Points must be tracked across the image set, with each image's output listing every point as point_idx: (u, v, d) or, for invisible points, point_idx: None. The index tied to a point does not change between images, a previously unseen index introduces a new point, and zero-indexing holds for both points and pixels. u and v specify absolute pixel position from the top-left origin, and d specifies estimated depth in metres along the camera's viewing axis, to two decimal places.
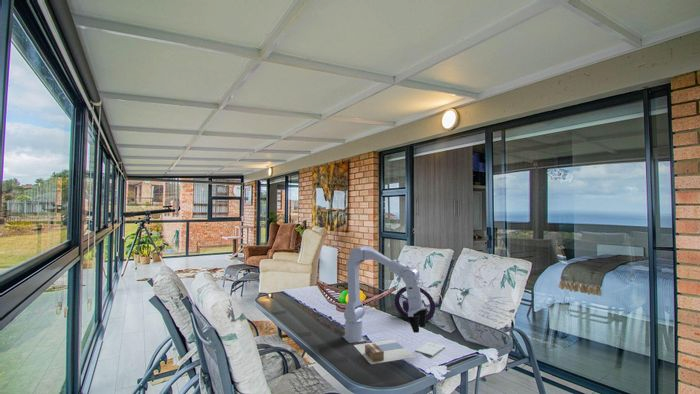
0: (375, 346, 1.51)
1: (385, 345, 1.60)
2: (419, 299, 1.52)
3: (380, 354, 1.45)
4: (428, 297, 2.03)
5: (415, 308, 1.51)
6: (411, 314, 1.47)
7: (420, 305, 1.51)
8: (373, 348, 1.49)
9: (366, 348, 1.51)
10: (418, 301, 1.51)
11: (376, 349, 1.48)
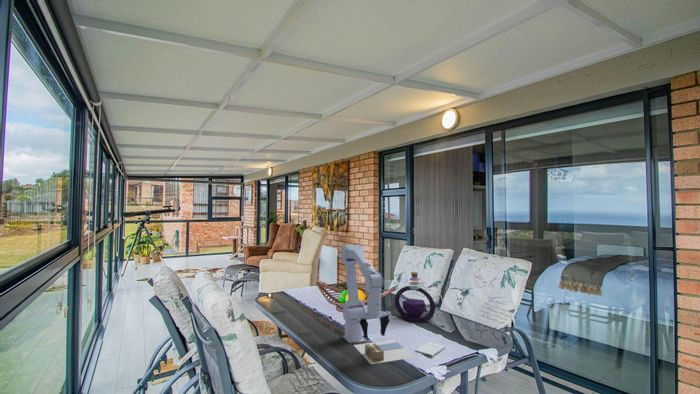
0: (375, 346, 1.51)
1: (385, 345, 1.60)
2: (374, 307, 1.47)
3: (380, 354, 1.45)
4: (428, 297, 2.03)
5: (368, 314, 1.48)
6: (358, 318, 1.46)
7: (374, 313, 1.47)
8: (373, 348, 1.49)
9: (366, 348, 1.51)
10: (372, 308, 1.47)
11: (376, 349, 1.48)
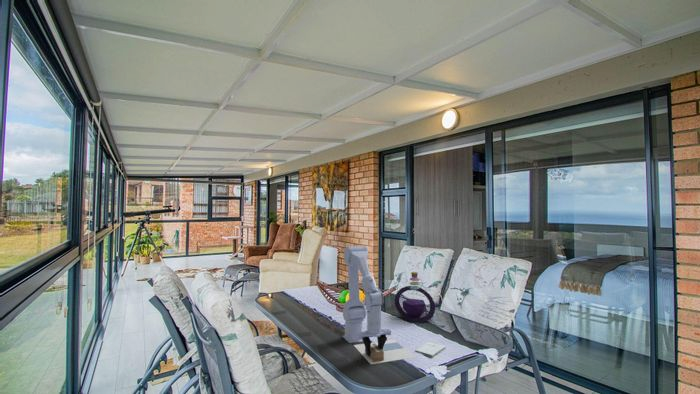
0: (375, 346, 1.51)
1: (385, 345, 1.60)
2: (374, 325, 1.47)
3: (380, 354, 1.45)
4: (428, 297, 2.03)
5: (368, 332, 1.48)
6: (358, 337, 1.46)
7: (374, 331, 1.46)
8: (373, 348, 1.49)
9: None
10: (372, 326, 1.47)
11: (376, 349, 1.48)
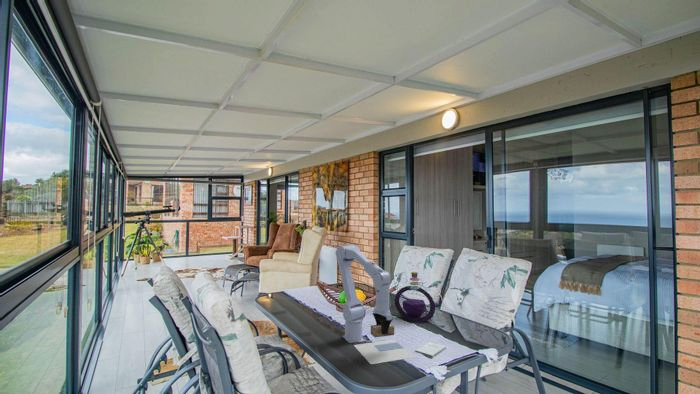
0: None
1: (385, 345, 1.60)
2: None
3: (373, 329, 1.52)
4: (428, 297, 2.03)
5: None
6: None
7: (375, 307, 1.55)
8: None
9: None
10: None
11: (379, 327, 1.53)
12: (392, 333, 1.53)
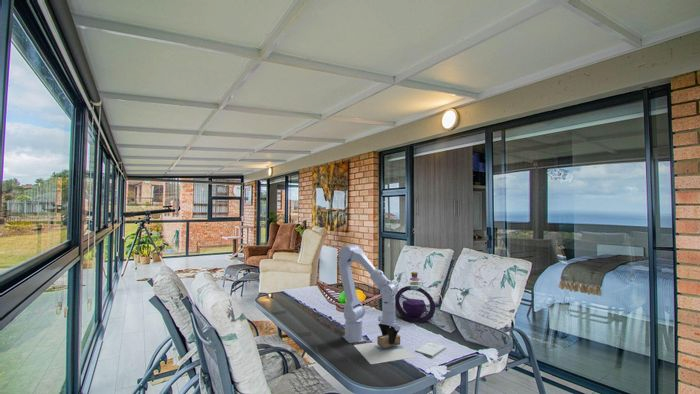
0: None
1: None
2: (382, 313, 1.59)
3: (381, 340, 1.56)
4: (428, 297, 2.03)
5: None
6: None
7: (382, 318, 1.59)
8: (387, 335, 1.59)
9: None
10: (382, 313, 1.60)
11: (386, 337, 1.58)
12: (398, 342, 1.59)
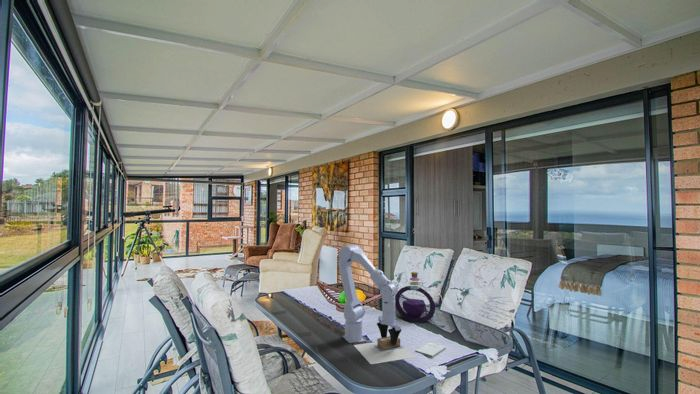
0: None
1: None
2: (382, 313, 1.59)
3: (381, 342, 1.56)
4: (428, 297, 2.03)
5: None
6: None
7: (382, 318, 1.59)
8: (387, 338, 1.59)
9: None
10: (382, 313, 1.60)
11: (386, 339, 1.58)
12: (398, 345, 1.59)
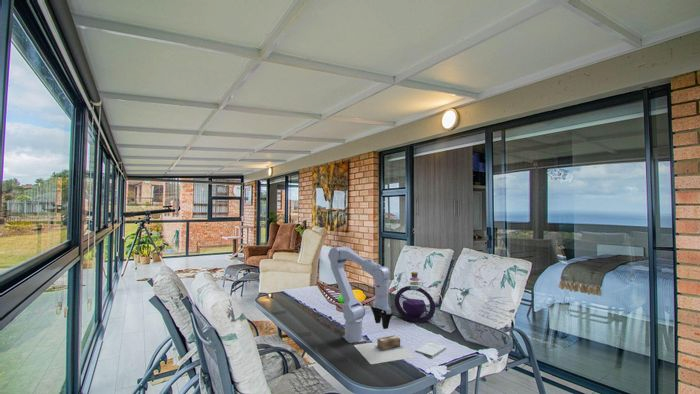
0: (393, 338, 1.59)
1: None
2: (375, 296, 1.59)
3: (381, 342, 1.56)
4: (428, 297, 2.03)
5: None
6: None
7: (375, 302, 1.59)
8: (387, 338, 1.59)
9: None
10: None
11: (386, 339, 1.58)
12: (398, 345, 1.59)
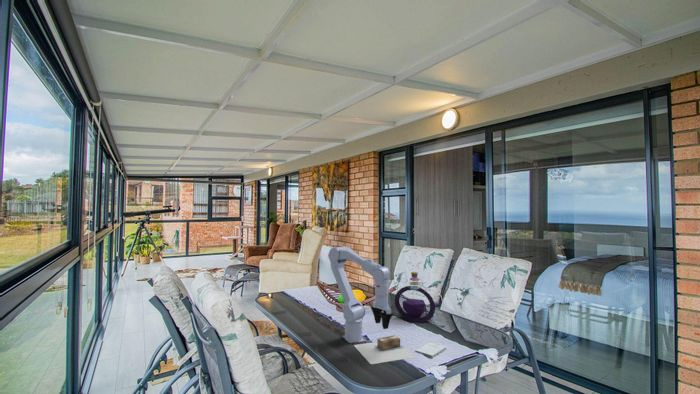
0: (393, 338, 1.59)
1: None
2: (375, 296, 1.59)
3: (381, 342, 1.56)
4: (428, 297, 2.03)
5: None
6: None
7: (375, 302, 1.59)
8: (387, 338, 1.59)
9: None
10: None
11: (386, 339, 1.58)
12: (398, 345, 1.59)
